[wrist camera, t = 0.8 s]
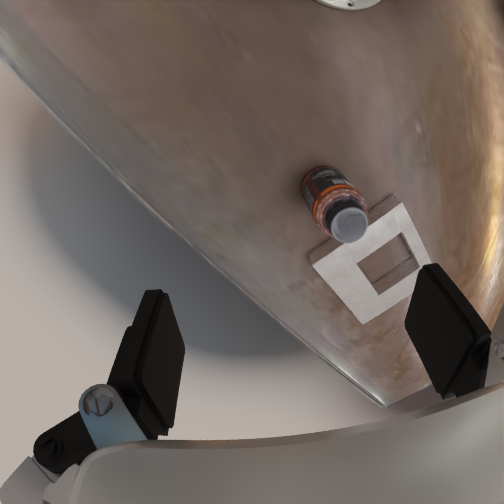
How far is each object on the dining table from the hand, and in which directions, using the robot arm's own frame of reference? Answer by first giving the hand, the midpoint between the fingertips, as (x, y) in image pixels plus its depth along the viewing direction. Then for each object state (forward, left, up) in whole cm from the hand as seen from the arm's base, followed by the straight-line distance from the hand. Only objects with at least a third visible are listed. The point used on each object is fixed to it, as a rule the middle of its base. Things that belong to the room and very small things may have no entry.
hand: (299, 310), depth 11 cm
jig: (-2, +25, -29) cm, 38 cm away
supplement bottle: (-2, +10, -29) cm, 31 cm away
